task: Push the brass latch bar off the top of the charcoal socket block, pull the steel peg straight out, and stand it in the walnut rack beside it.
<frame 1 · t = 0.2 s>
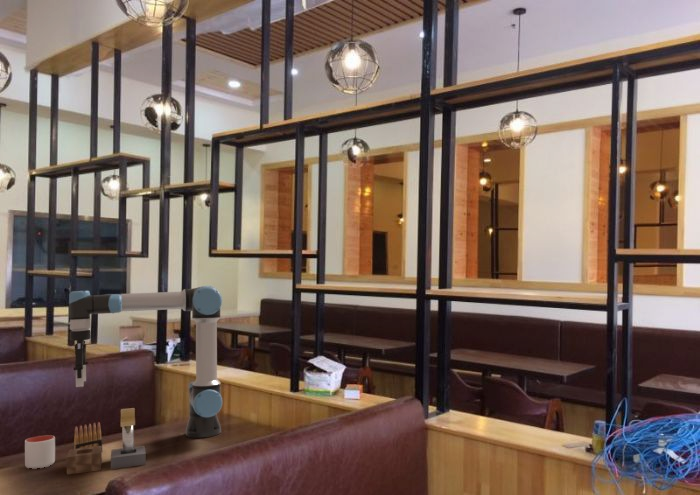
hand: (81, 384, 238), 28 cm above the table, fingers open, 13 cm apart
rack: (84, 468, 221), on the table
ammunition clip: (88, 455, 239), on the table
latch: (127, 417, 227), point 17 cm above the table, slide at 0.0 cm
cup: (40, 466, 226), on the table
peg: (128, 462, 226), resting in socket block
socket block: (128, 462, 226), on the table
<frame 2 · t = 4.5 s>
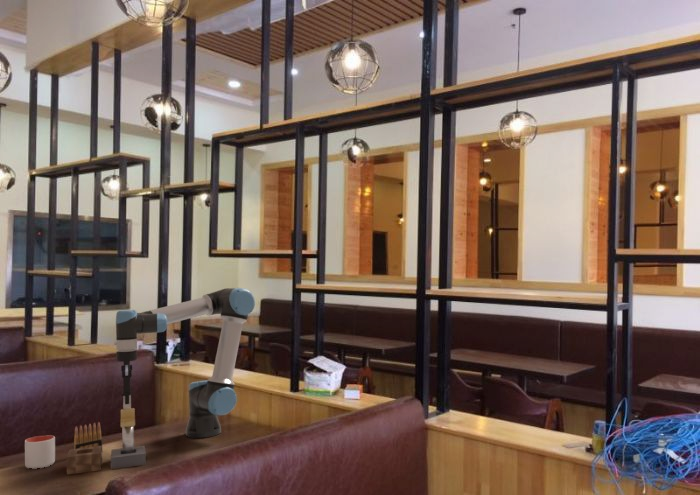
hand: (127, 412, 232), 18 cm above the table, fingers closed
latch: (127, 417, 227), point 17 cm above the table, slide at 0.6 cm, touching gripper
everything else where it was.
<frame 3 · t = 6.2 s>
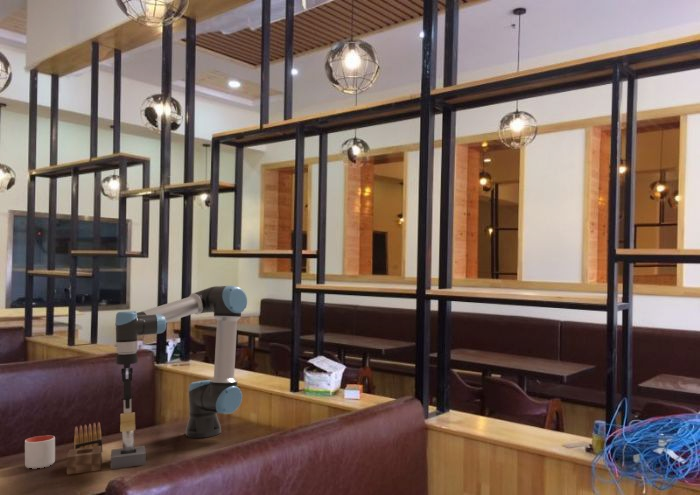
hand: (127, 416, 225), 17 cm above the table, fingers closed
latch: (127, 421, 219), point 17 cm above the table, slide at 8.7 cm, touching gripper
everything else where it was.
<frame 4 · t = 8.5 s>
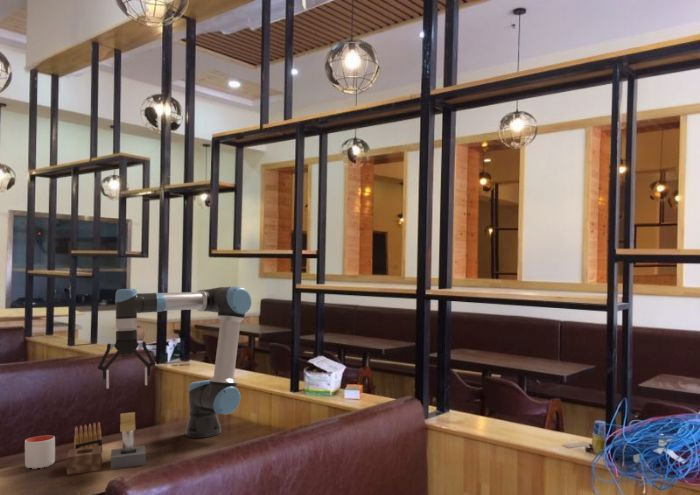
hand: (127, 386, 228), 28 cm above the table, fingers open, 13 cm apart
latch: (127, 421, 219), point 17 cm above the table, slide at 8.7 cm
everything else where it was.
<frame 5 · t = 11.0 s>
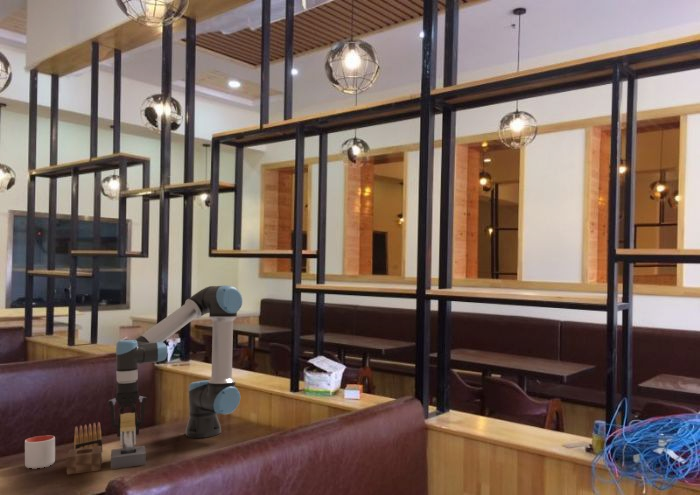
hand: (128, 444, 227), 7 cm above the table, fingers closed on peg, 4 cm apart
peg: (128, 462, 226), resting in socket block, touching gripper
everything else where it was.
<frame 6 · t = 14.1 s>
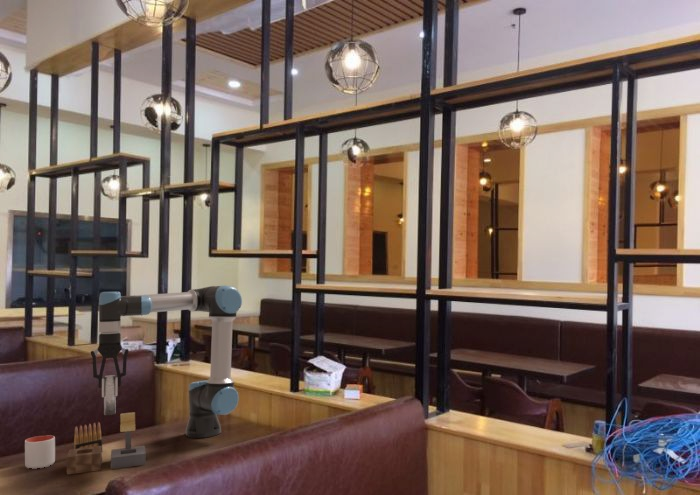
hand: (109, 395, 225), 25 cm above the table, fingers closed on peg, 4 cm apart
peg: (109, 413, 225), point 19 cm above the table, touching gripper
everything else where it was.
when the fingers open (9 cm above the table, at t = 17.4 s): peg drops 3 cm, resting in rack.
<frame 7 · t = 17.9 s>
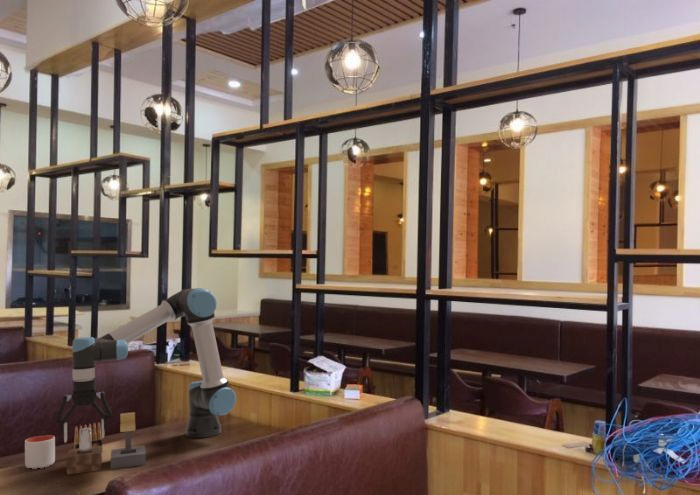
hand: (84, 439, 222), 10 cm above the table, fingers open, 12 cm apart
peg: (85, 467, 221), resting in rack
everything else where it was.
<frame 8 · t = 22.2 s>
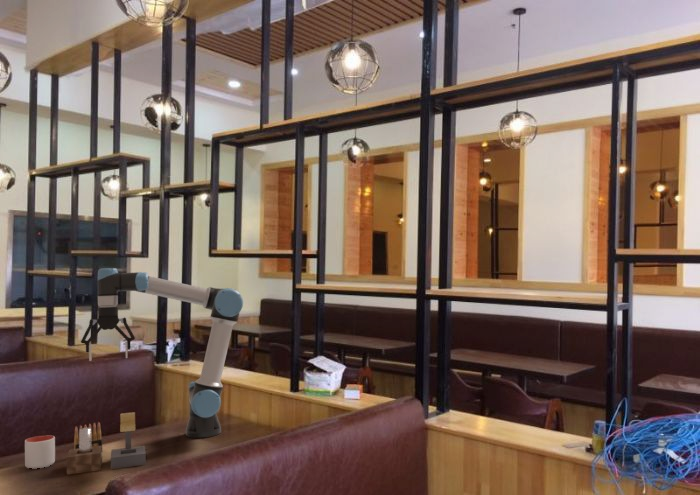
hand: (108, 359, 244), 37 cm above the table, fingers open, 13 cm apart
nothing on the table moved.
at the end: latch slide at 8.7 cm; peg 0.2 cm off-centre on the rack, point 0.0 cm above the rack's base; peg tilted 1° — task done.
